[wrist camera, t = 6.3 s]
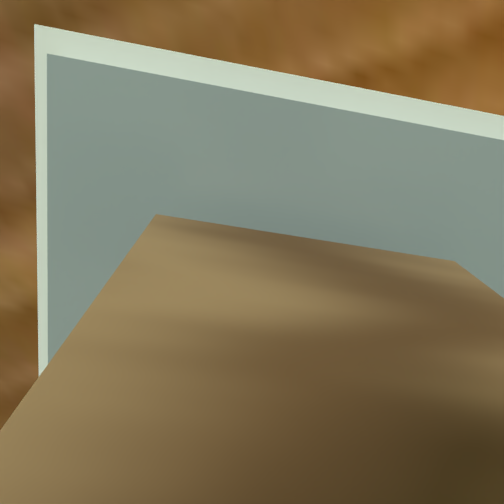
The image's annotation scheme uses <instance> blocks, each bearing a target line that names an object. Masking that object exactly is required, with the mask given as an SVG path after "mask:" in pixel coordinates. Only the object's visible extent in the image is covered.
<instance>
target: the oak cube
mask: <svg viewBox="0 0 504 504" xmlns="http://www.w3.org/2000/svg"><path fill="white" fill-rule="evenodd" d="M0 504H504V298H503V297H501V296H500V295H499V294H497V293H496V292H495V291H494V290H492V289H491V288H490V287H488V286H487V285H486V284H484V283H483V282H482V281H480V280H479V279H478V278H476V277H475V276H474V275H472V274H471V273H470V272H468V271H467V270H466V269H464V268H463V267H462V266H460V265H459V264H458V263H456V262H455V261H451V260H444V259H438V258H432V257H425V256H419V255H413V254H406V253H400V252H394V251H387V250H381V249H375V248H368V247H362V246H356V245H349V244H343V243H337V242H330V241H324V240H318V239H311V238H305V237H298V236H292V235H286V234H279V233H273V232H267V231H260V230H254V229H248V228H241V227H235V226H229V225H222V224H216V223H210V222H203V221H197V220H191V219H184V218H178V217H172V216H165V215H159V214H156V215H155V216H154V217H153V219H152V220H151V222H150V223H149V224H148V226H147V227H146V229H145V230H144V231H143V233H142V234H141V235H140V237H139V238H138V240H137V241H136V242H135V244H134V245H133V247H132V248H131V249H130V251H129V252H128V254H127V255H126V256H125V258H124V259H123V261H122V262H121V263H120V265H119V266H118V267H117V269H116V270H115V272H114V273H113V274H112V276H111V277H110V279H109V280H108V281H107V283H106V284H105V286H104V287H103V288H102V290H101V291H100V293H99V294H98V295H97V297H96V298H95V300H94V301H93V302H92V304H91V305H90V306H89V308H88V309H87V311H86V312H85V313H84V315H83V316H82V318H81V319H80V320H79V322H78V323H77V325H76V326H75V327H74V329H73V330H72V332H71V333H70V334H69V336H68V337H67V338H66V340H65V341H64V343H63V344H62V345H61V347H60V348H59V350H58V351H57V352H56V354H55V355H54V357H53V358H52V359H51V361H50V362H49V364H48V365H47V366H46V368H45V369H44V371H43V372H42V373H41V375H40V376H39V377H38V379H37V380H36V382H35V383H34V384H33V386H32V387H31V389H30V390H29V391H28V393H27V394H26V396H25V397H24V398H23V400H22V401H21V403H20V404H19V405H18V407H17V408H16V409H15V411H14V412H13V414H12V415H11V416H10V418H9V419H8V421H7V422H6V423H5V425H4V426H3V428H2V429H1V430H0Z"/></svg>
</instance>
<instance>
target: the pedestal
mask: <svg viewBox="0 0 504 504" xmlns="http://www.w3.org/2000/svg"><path fill="white" fill-rule="evenodd" d="M34 45H35V123H36V200H37V278H38V355H39V376H40V375H41V373H42V372H43V371H44V369H45V368H46V366H47V365H48V364H49V362H50V361H51V359H52V358H53V357H54V355H55V354H56V352H57V351H58V350H59V348H60V347H61V345H62V344H63V343H64V341H65V340H66V338H67V337H68V336H69V334H70V333H71V332H72V330H73V329H74V327H75V326H76V325H77V323H78V322H79V320H80V319H81V318H82V316H83V315H84V313H85V312H86V311H87V309H88V308H89V306H90V305H91V304H92V302H93V301H94V300H95V298H96V297H97V295H98V294H99V293H100V291H101V290H102V288H103V287H104V286H105V284H106V283H107V281H108V280H109V279H110V277H111V276H112V274H113V273H114V272H115V270H116V269H117V267H118V266H119V265H120V263H121V262H122V261H123V259H124V258H125V256H126V255H127V254H128V252H129V251H130V249H131V248H132V247H133V245H134V244H135V242H136V241H137V240H138V238H139V237H140V235H141V234H142V233H143V231H144V230H145V229H146V227H147V226H148V224H149V223H150V222H151V220H152V219H153V217H154V216H155V215H156V214H159V215H165V216H172V217H178V218H184V219H191V220H197V221H203V222H210V223H216V224H222V225H229V226H235V227H241V228H248V229H254V230H260V231H267V232H273V233H279V234H286V235H292V236H298V237H305V238H311V239H318V240H324V241H330V242H337V243H343V244H349V245H356V246H362V247H368V248H375V249H381V250H387V251H394V252H400V253H406V254H413V255H419V256H425V257H432V258H438V259H444V260H451V261H455V262H456V263H458V264H459V265H460V266H462V267H463V268H464V269H466V270H467V271H468V272H470V273H471V274H472V275H474V276H475V277H476V278H478V279H479V280H480V281H482V282H483V283H484V284H486V285H487V286H488V287H490V288H491V289H492V290H494V291H495V292H496V293H497V294H499V295H500V296H501V297H503V298H504V116H501V115H496V114H491V113H486V112H481V111H475V110H470V109H465V108H460V107H455V106H450V105H445V104H440V103H435V102H429V101H424V100H419V99H414V98H409V97H404V96H399V95H394V94H389V93H383V92H378V91H373V90H368V89H363V88H358V87H353V86H348V85H343V84H337V83H332V82H327V81H322V80H317V79H312V78H307V77H302V76H297V75H291V74H286V73H281V72H276V71H271V70H266V69H261V68H256V67H251V66H245V65H240V64H235V63H230V62H225V61H220V60H215V59H210V58H205V57H199V56H194V55H189V54H184V53H179V52H174V51H169V50H164V49H159V48H153V47H148V46H143V45H138V44H133V43H128V42H123V41H118V40H113V39H107V38H102V37H97V36H92V35H87V34H82V33H77V32H72V31H67V30H61V29H56V28H51V27H46V26H41V25H36V24H34Z"/></svg>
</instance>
